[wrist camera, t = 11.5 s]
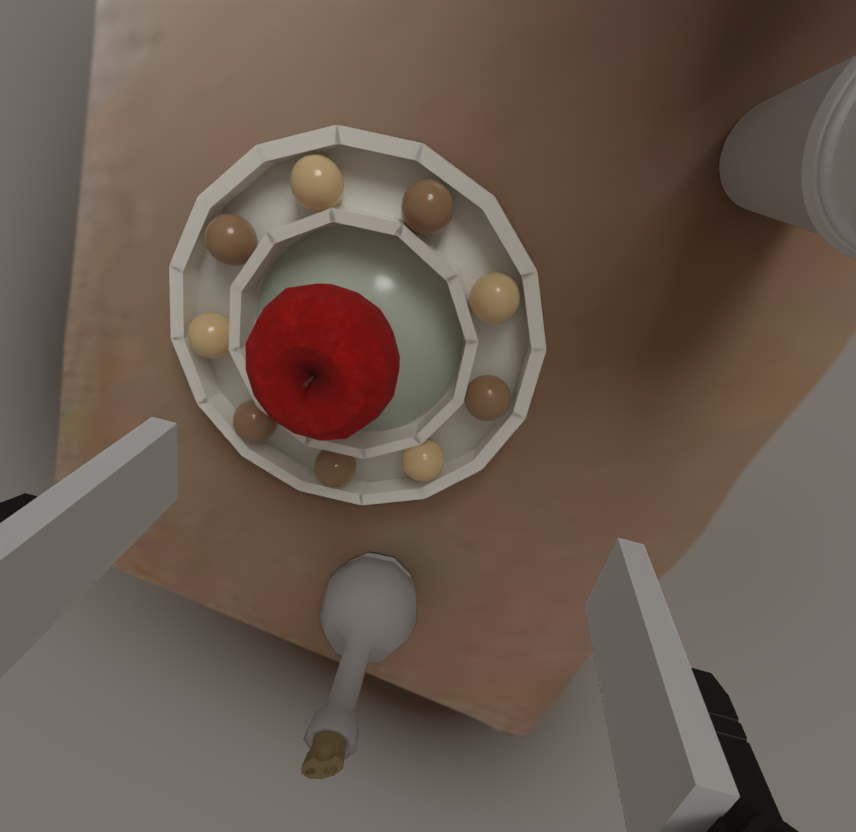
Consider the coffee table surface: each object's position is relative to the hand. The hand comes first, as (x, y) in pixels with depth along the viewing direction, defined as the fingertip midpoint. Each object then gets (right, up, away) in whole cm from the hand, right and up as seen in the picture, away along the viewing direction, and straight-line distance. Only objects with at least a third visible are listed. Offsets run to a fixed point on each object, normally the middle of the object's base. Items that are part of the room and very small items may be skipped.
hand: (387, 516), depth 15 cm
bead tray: (-4, +9, +25) cm, 27 cm away
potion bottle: (-4, -13, +35) cm, 37 cm away
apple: (-5, +9, +24) cm, 26 cm away
